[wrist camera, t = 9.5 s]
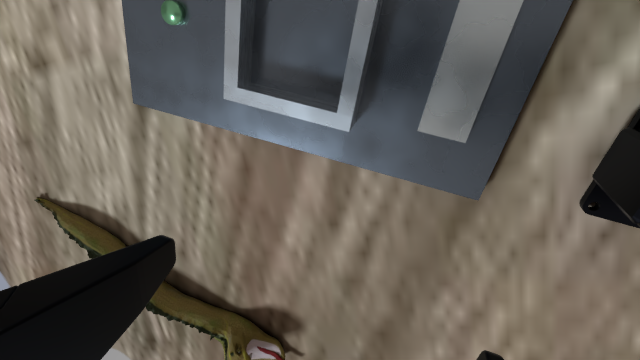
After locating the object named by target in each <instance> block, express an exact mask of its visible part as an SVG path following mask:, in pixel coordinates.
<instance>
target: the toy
mask: <svg viewBox="0 0 640 360" xmlns="http://www.w3.org/2000/svg"><path fill="white" fill-rule="evenodd" d="M35 201H36V202H38V203H40V204H41V205H42V207H45V208H46V209H48V210H50V211H51V212H52V214H53V215H54V219H56V220H57V221H58V223H57V224H58V225H59V227H60V228H62V229H63V230H64V232H65V233H66V234H68V235H69V238H70V239H72V240H75V241H76V244H77V243H78V244H79V246H80V247H82V248H84V249H86V250H87V252H88V256H89V258H92V259H93V258H96V257H99V256H102V255H105V254H108V253H110V252H113V251H116V250H119V249H122V248H125V247H126V246H125V245H124V244H123V243H122V242H121V241H120V240H119V239H118V238H116V237H115V236H113V235H112V234H110V233H109V232H107V231H106V230H103V229H101V228H100V227H98V226H96V225H94V224H93V223H91V222H89V221H88V220H86V219H84V218H82V217H80V216H78V215H76V214H73V213H71V212H69V211H68V210H66V209H64V208H62V207H60V206H58V205H56V204H55V203H53V202H50V201H48V200H46V199H42V198H37V199H36V200H35ZM146 309H147V310H148V311H152V313H153V314H160V315H161V316H164V317H167V319H168V321H171V320H173V319H174V320H176V321H179V322H180V321H182V323H183V324H185V325H190V327H192V328H193V327H195V328H197V329H198V330H199V333H201V332H203V333H207V334H209V335H211V339H212V338H215V339H216V340H218V341H219V342H220V343H221V344H222V346H223V349H224V358H225V360H285V352H284V350H283V348H282V346H281V344H280V342H279V341H278V340H277V339H275V338H273V337H271V336H269V335H267V334H266V333H264V332H263V331H262V330H261V329H259V328H258V327H257V326H256V325H254V324H253V323H252V322H250V321H249V320H247V319H245V318H243V317H242V316H240V315H238V314H235V313H233V312H230V311H227V310H224V309H221V308H218V307H214V306H212V305H209V304H207V303H205V302H202V301H200V300H198V299H195V298H193V297H189V296H187V295H184V294H183V293H181V292H179V291H178V290H177V289H175V288H174V287H172V286H171V285H169V284H168V283H166V282H165V281H163V282H162V284H161V285H160V287H159V288H158V290H157V291H156V292H155V294H154V295H153V297H152V298H151V300H150V301H149V302H148V304H147V305H146ZM211 339H210V340H211Z"/></svg>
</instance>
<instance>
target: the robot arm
mask: <svg viewBox="0 0 640 360" xmlns="http://www.w3.org/2000/svg"><path fill="white" fill-rule="evenodd" d="M593 179H594V180H593V181H592V183H591V184H590V186H589V188H588V189H587V191H586V192H585V194H584V195H583V197H582V198H581V200H580V207H581V208H582V210H583V211H584V212H585V213H587V214H589V215H593V216H596V217H600V218H604V219H607V220H611V221H615V222H618V223H622V224H626V225H629V226H633V227H637V228H640V109H639V111H638V112H637V114H636V115H635V117H634V118H633V120H632V121H631V123H630V124H629V126H628V128H626V129H624V130H622V131H621V132H620V133H619V135H618V136H617V138H616V140H615V141H614V143H613V144H612V146H611V147H610V149H609V150H608V152H607V154H606V155H605V157H604V158H603V160H602V161H601V163H600V164H599V166H598V168H597V169H596V171H595V172H594V174H593ZM592 202H597V204H596V205H595V206H592V207H588V206H589V204H590V203H592ZM175 261H176V252H175V241H174V240H173V239H172V238H169V237H166V236H164V235H159V236H156V237H153V238H150V239H147V240H145V241H142V242H139V243H136V244H133V245H130V246H128V247H125V248H122V249H119V250H116V251H113V252H110V253H108V254H105V255H102V256H99V257H96V258H93V259H91V260H88V261H85V262H82V263H79V264H76V265H73V266H71V267H68V268H65V269H62V270H59V271H56V272H54V273H51V274H48V275H45V276H42V277H39V278H36V279H34V280H31V281H28V282H25V283H22V284H20V285H19V286H13V287H11V288H8V289H5V290H2V291H0V360H101V359H102V357H103V356H104V355H105V354H106V353H107V352H108V351H109V349H110V348H111V347H112V346H113V345H114V344H115V342H116V341H117V340H118V339H119V338H120V337H121V335H122V334H123V333H124V332H125V331H126V330H127V328H128V327H129V326H130V325H131V324H132V322H133V321H134V320H135V319H136V318H137V317H138V315H139V314H140V313H141V312H142V310H143V309H144V308H145V307H146V305H147V304H148V302H149V301H150V300H151V298H152V297H153V295H154V294H155V292H156V291H157V290H158V288H159V287H160V285H161V284H162V282H163V281H164V279H165V278H166V277H167V275H168V274H169V272H170V271H171V269H172V268H173V266H174V264H175ZM477 360H504V359H503V358H502V357H501V356H500V355H498V354H495V353H492V352H489V351H486V350H484V351H482V352H481V354H480V355H479V357H478V358H477Z"/></svg>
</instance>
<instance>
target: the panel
mask: <svg viewBox="0 0 640 360" xmlns="http://www.w3.org/2000/svg"><path fill="white" fill-rule="evenodd" d="M572 1H573V0H122V7H123V16H124V25H125V34H126V43H127V52H128V60H129V69H130V78H131V87H132V96H133V103H134V104H138V105H141V106H145V107H148V108H152V109H155V110H159V111H163V112H166V113H170V114H173V115H177V116H180V117H184V118H187V119H191V120H194V121H198V122H202V123H205V124H209V125H212V126H216V127H219V128H223V129H226V130H230V131H233V132H237V133H241V134H244V135H248V136H251V137H255V138H258V139H262V140H265V141H269V142H272V143H276V144H280V145H283V146H287V147H290V148H294V149H297V150H301V151H304V152H308V153H311V154H315V155H319V156H322V157H326V158H329V159H333V160H336V161H340V162H343V163H347V164H350V165H354V166H358V167H361V168H365V169H368V170H372V171H375V172H379V173H382V174H386V175H389V176H393V177H397V178H400V179H404V180H407V181H411V182H414V183H418V184H421V185H425V186H428V187H432V188H436V189H439V190H443V191H446V192H450V193H453V194H457V195H460V196H464V197H467V198H471V199H475V200H479V198H480V196H481V194H482V192H483V190H484V188H485V185H486V183H487V181H488V179H489V177H490V175H491V173H492V171H493V168H494V166H495V164H496V162H497V160H498V158H499V156H500V154H501V152H502V149H503V147H504V145H505V143H506V141H507V139H508V137H509V135H510V132H511V130H512V128H513V126H514V124H515V122H516V120H517V118H518V115H519V113H520V111H521V109H522V107H523V105H524V103H525V101H526V99H527V96H528V94H529V92H530V90H531V88H532V86H533V84H534V82H535V79H536V77H537V75H538V73H539V71H540V69H541V67H542V65H543V62H544V60H545V58H546V56H547V54H548V52H549V50H550V48H551V46H552V43H553V41H554V39H555V37H556V35H557V33H558V31H559V29H560V26H561V24H562V22H563V20H564V18H565V16H566V14H567V12H568V9H569V7H570V5H571V3H572Z"/></svg>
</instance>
